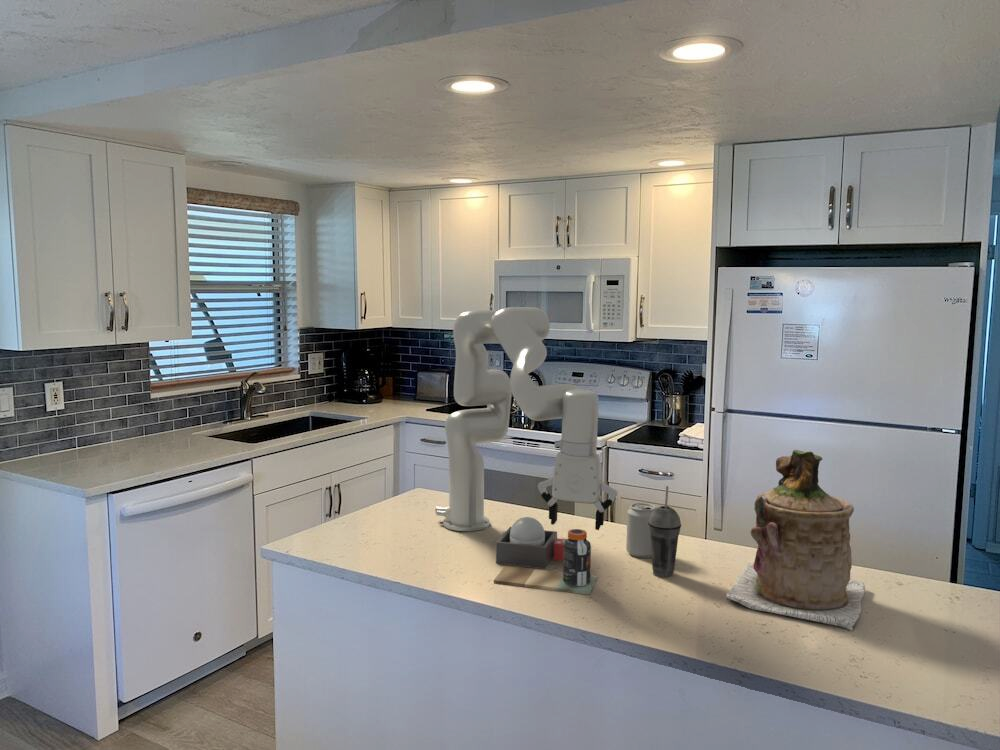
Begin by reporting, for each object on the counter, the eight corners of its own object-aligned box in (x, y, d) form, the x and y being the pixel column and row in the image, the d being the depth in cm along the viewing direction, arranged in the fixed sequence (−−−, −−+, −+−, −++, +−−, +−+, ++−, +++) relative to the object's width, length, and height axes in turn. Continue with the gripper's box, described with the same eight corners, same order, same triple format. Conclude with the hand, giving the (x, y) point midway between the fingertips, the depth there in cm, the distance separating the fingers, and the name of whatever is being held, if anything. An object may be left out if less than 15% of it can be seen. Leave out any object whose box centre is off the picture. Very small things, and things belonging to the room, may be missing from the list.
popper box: (495, 563, 172) (496, 542, 172) (509, 546, 184) (510, 526, 183) (565, 571, 168) (565, 549, 167) (575, 553, 179) (575, 533, 178)
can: (648, 561, 174) (650, 511, 173) (620, 554, 179) (621, 506, 177) (662, 552, 180) (664, 504, 179) (634, 546, 185) (636, 499, 183)
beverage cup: (642, 576, 165) (645, 489, 163) (651, 565, 171) (654, 481, 169) (674, 582, 161) (677, 493, 159) (683, 571, 168) (686, 485, 166)
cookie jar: (867, 589, 158) (876, 443, 155) (856, 634, 137) (867, 466, 134) (748, 567, 171) (755, 431, 167) (722, 605, 150) (728, 451, 146)
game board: (493, 582, 160) (493, 580, 160) (505, 568, 169) (505, 565, 169) (589, 594, 154) (589, 591, 154) (596, 578, 163) (596, 576, 163)
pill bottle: (591, 587, 157) (592, 535, 156) (564, 587, 157) (564, 535, 156) (588, 576, 163) (589, 526, 161) (561, 576, 163) (562, 526, 161)
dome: (505, 555, 173) (505, 521, 172) (514, 544, 181) (515, 511, 180) (540, 559, 171) (540, 524, 170) (548, 548, 179) (548, 514, 178)
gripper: (535, 448, 155) (532, 526, 158) (617, 455, 151) (613, 536, 153) (543, 440, 163) (540, 515, 165) (621, 447, 158) (618, 524, 160)
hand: (575, 525), depth 159 cm, fingers open, 9 cm apart
